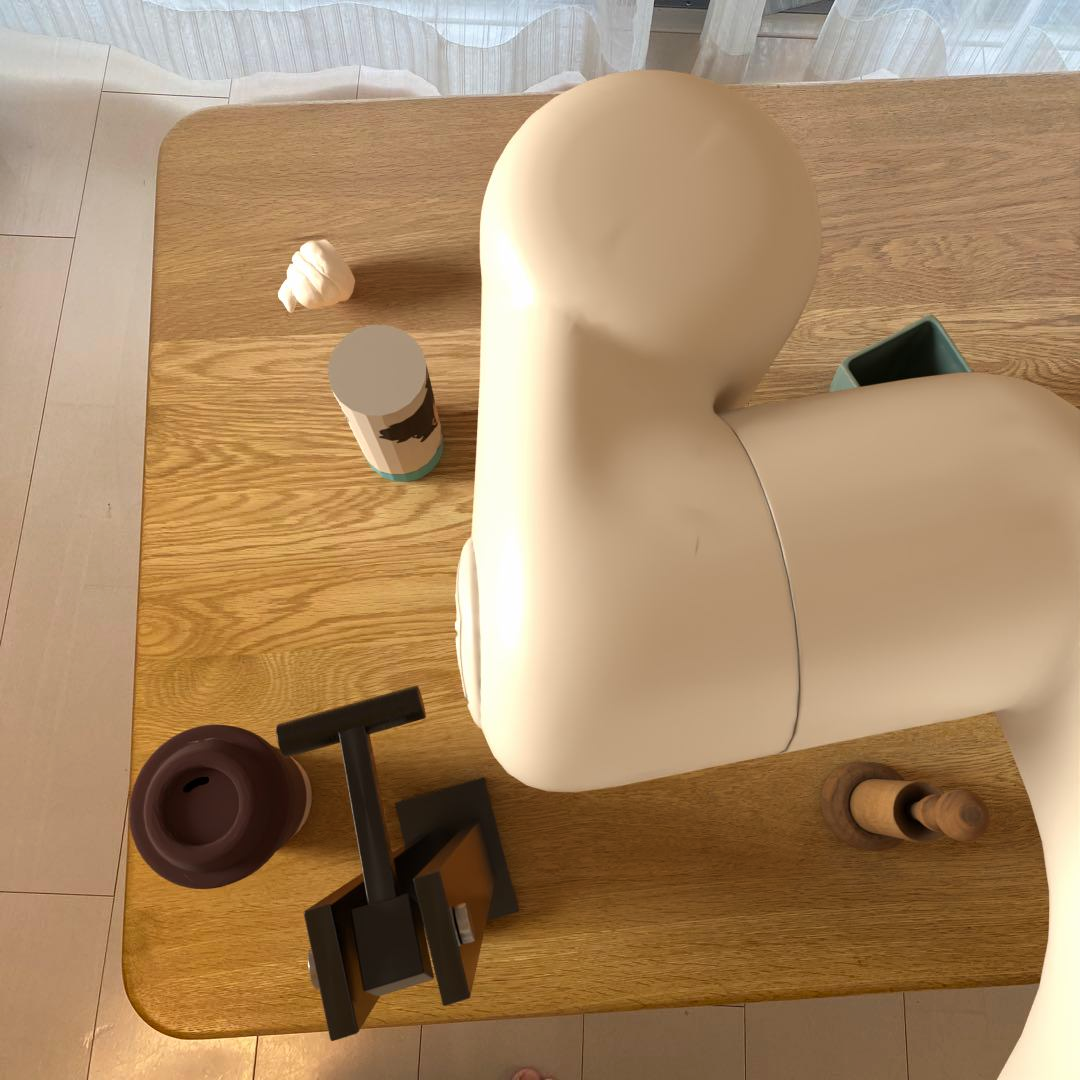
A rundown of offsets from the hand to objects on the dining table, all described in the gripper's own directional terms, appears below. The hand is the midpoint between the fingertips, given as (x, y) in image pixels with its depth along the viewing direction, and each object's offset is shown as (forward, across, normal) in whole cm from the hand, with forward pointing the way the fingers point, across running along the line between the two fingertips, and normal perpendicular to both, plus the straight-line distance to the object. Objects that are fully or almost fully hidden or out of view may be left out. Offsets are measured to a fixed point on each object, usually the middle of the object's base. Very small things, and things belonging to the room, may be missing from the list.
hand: (574, 544), depth 49 cm
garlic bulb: (+27, -33, -12) cm, 44 cm away
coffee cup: (+27, +7, -25) cm, 38 cm away
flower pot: (+27, -9, +31) cm, 42 cm away
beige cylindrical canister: (+27, -18, -8) cm, 34 cm away
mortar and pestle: (+27, +20, +19) cm, 39 cm away
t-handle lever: (-8, +11, -12) cm, 18 cm away
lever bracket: (+27, +15, -12) cm, 33 cm away
